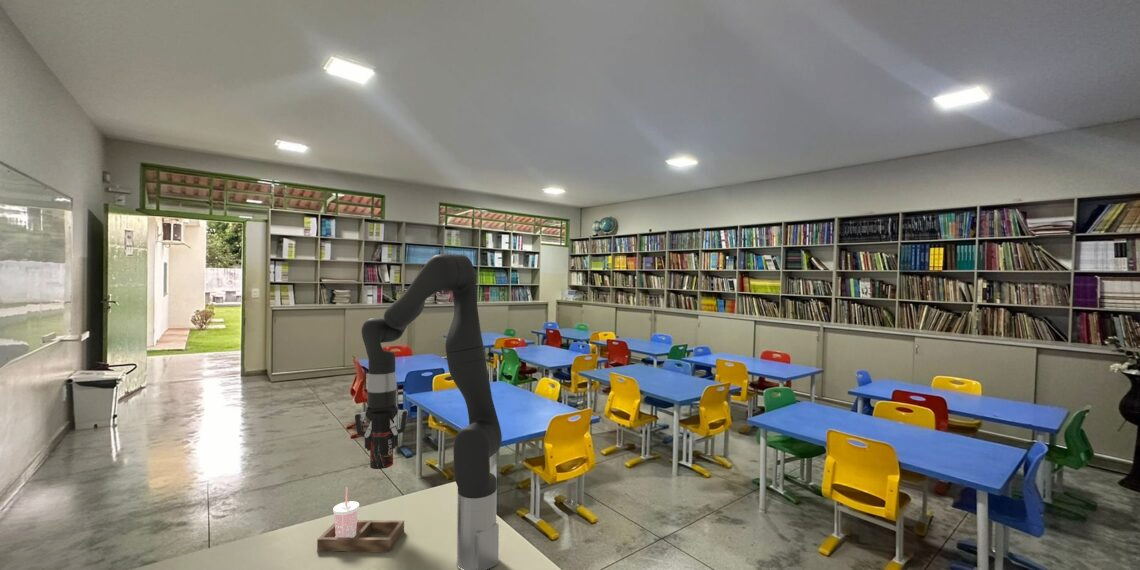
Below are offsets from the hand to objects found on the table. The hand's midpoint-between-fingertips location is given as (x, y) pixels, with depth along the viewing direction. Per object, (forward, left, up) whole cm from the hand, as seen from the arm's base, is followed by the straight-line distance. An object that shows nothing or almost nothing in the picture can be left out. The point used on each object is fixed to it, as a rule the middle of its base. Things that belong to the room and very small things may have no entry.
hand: (381, 448), depth 126 cm
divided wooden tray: (-5, +7, -21) cm, 23 cm away
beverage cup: (-2, +10, -21) cm, 24 cm away
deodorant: (0, 0, -5) cm, 5 cm away
